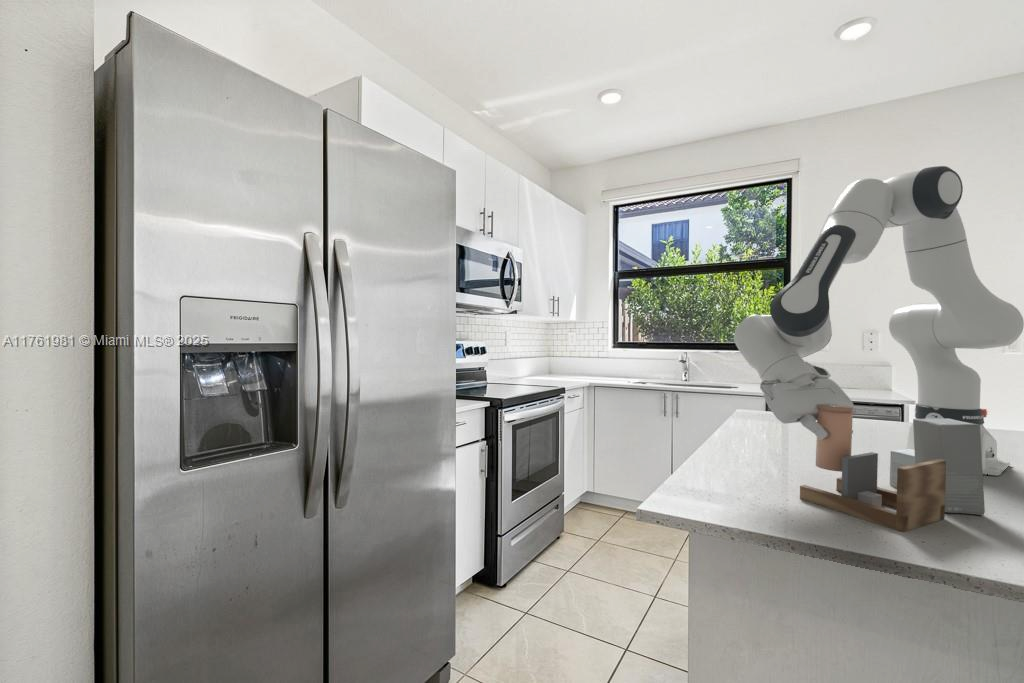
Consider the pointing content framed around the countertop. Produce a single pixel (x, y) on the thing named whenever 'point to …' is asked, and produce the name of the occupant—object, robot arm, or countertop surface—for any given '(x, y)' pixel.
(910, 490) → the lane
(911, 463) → the skincare box
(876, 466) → the pusher
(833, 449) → the jar
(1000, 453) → the countertop surface
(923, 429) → the skincare box
